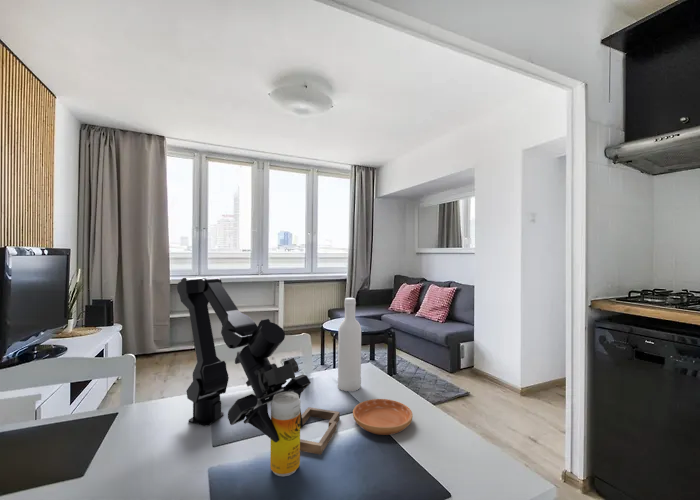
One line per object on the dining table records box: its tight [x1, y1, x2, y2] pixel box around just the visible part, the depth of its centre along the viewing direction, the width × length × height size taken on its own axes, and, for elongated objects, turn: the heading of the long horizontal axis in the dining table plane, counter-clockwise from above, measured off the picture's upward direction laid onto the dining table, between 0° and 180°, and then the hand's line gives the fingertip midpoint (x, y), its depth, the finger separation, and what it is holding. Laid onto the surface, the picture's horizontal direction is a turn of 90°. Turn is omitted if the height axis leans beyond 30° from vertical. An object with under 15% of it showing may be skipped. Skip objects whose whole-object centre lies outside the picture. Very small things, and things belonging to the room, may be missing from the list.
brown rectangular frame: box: [300, 406, 341, 455], centre depth 83 cm, size 11×16×2 cm
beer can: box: [269, 392, 301, 477], centre depth 69 cm, size 6×6×15 cm
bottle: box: [337, 297, 362, 392], centre depth 111 cm, size 8×8×30 cm
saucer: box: [352, 398, 414, 436], centre depth 88 cm, size 16×16×3 cm
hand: (289, 434), depth 68 cm, fingers closed on beer can, 6 cm apart
